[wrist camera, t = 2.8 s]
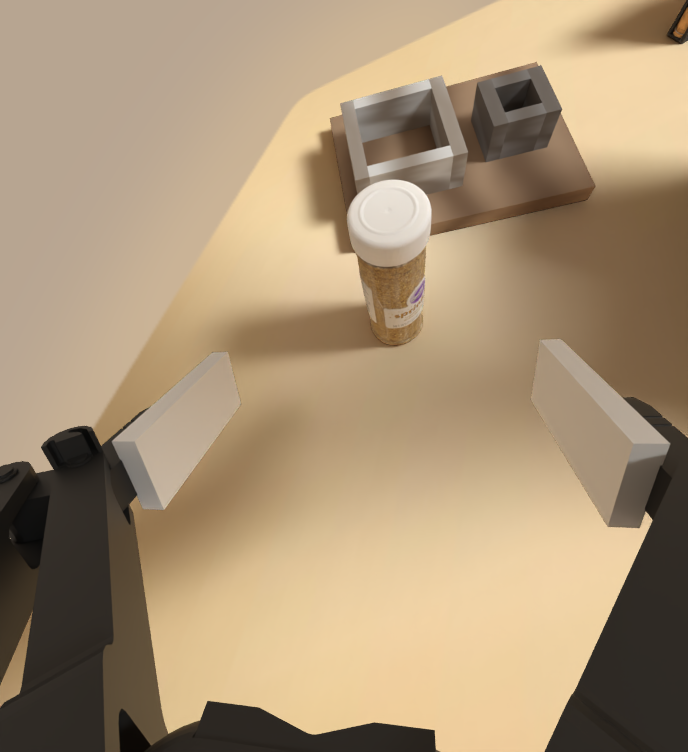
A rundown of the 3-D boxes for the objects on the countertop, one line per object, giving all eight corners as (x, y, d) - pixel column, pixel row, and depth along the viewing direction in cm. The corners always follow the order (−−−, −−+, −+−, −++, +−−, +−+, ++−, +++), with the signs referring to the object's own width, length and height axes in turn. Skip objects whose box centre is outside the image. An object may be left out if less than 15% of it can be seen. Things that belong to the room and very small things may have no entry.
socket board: (531, 78, 38) (549, 19, 33) (587, 199, 33) (617, 149, 28) (332, 131, 40) (322, 83, 36) (354, 252, 35) (345, 214, 30)
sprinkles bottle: (414, 352, 31) (417, 254, 18) (363, 338, 32) (333, 237, 19) (429, 305, 32) (443, 181, 19) (379, 293, 33) (361, 169, 21)
